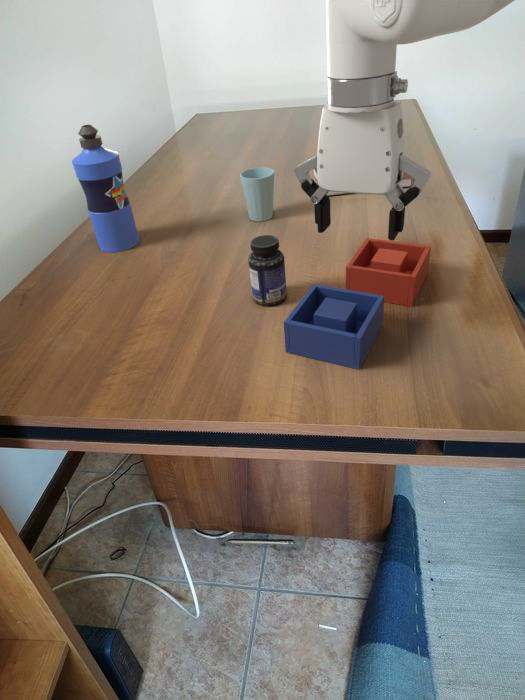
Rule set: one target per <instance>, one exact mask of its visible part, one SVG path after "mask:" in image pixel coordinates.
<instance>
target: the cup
mask: <svg viewBox="0 0 525 700" xmlns="http://www.w3.org/2000/svg"><path fill="white" fill-rule="evenodd" d="M239 177H240V181H241V185H242V190H243V195H244V199H245V203H246V207H247V208H246V209H247V212H248V217H249V220H251V221H252V222H258V223H260V222H266V221H270V220H271V219H272V218H273V214H274V194H275V193H274V191H275V190H274V189H275V170H274V169H273V168H270V167H260V166H259V167H252V168H247V169H245V170H243V171H242V172H240V174H239Z"/></svg>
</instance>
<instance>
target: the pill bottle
mask: <svg viewBox="0 0 525 700" xmlns="http://www.w3.org/2000/svg"><path fill="white" fill-rule="evenodd" d="M279 248H280V241H279V238H278V237H277V236H276V235H271V234H263V235H258V236H256V237H253V238H252V239H251V240H250V251H251V252H250V254H249V255H248V258H247V263H248V271H249V278H250V286H251V294H252V295H251V296H252V300H253V301H254V303H256V305H260V306H265V307H266V306H267V307H270V306H271V307H272V306H277V305H279V304H281V303H283V302H284V301H286V298H287V296H288V291H287V289H288V288H287V277H286V275H287V274H286V266H285V265H286V263H285V255H284V253H283V252H282V250H280V249H279Z"/></svg>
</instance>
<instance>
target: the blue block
mask: <svg viewBox="0 0 525 700" xmlns="http://www.w3.org/2000/svg"><path fill="white" fill-rule="evenodd" d="M356 316H357V303H353V302H347V301H342V300H336V299H331V298H325V299H324V301H323V302H322V304H321V305H320V306H319V308H318V309H317V311H316V312H315V313H314V325H315V326H320V327H325V328H330V329H335V330H339V331H344V332H349V333H355V331H356Z"/></svg>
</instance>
